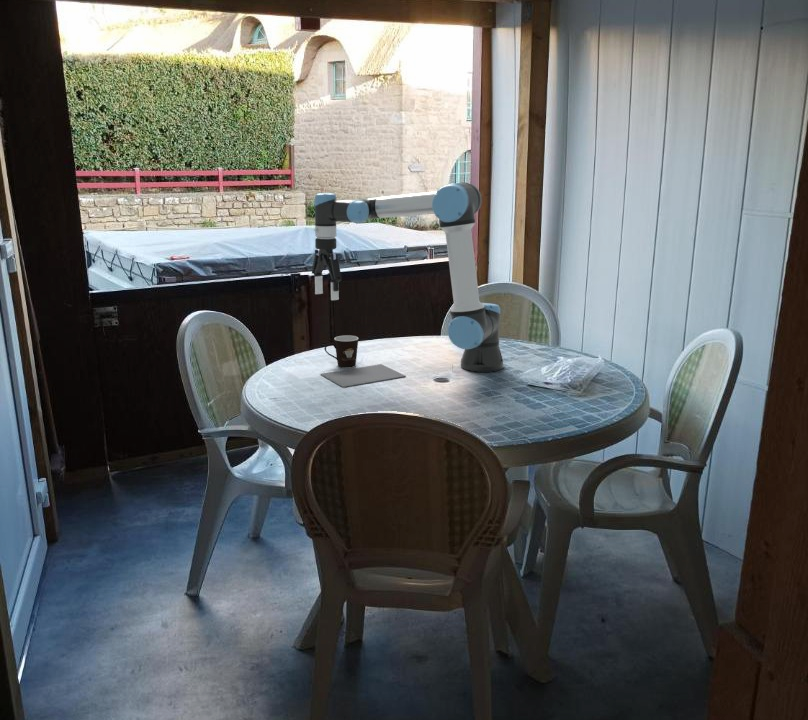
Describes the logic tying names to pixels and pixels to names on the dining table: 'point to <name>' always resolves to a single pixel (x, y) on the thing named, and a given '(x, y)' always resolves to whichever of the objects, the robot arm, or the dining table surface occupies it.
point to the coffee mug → (345, 350)
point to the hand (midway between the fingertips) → (326, 296)
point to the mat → (362, 375)
